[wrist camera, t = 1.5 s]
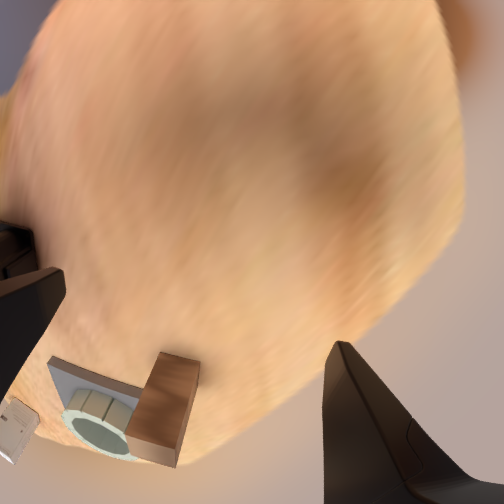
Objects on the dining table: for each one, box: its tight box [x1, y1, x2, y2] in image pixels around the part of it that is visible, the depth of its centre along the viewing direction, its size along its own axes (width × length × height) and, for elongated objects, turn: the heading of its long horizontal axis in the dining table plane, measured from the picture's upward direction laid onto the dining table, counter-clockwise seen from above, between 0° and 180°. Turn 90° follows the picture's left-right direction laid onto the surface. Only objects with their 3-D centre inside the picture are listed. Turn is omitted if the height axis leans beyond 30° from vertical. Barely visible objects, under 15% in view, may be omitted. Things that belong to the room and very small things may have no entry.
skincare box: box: [0, 398, 40, 465], centre depth 34 cm, size 6×4×12 cm
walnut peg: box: [124, 352, 200, 468], centre depth 24 cm, size 4×4×10 cm
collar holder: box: [47, 356, 143, 461], centre depth 31 cm, size 16×14×5 cm
